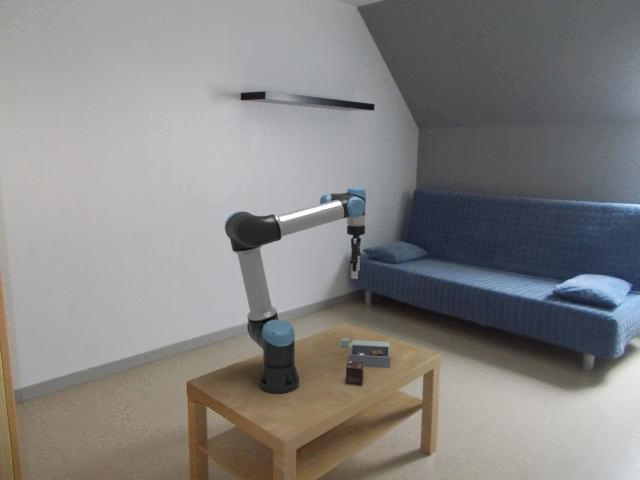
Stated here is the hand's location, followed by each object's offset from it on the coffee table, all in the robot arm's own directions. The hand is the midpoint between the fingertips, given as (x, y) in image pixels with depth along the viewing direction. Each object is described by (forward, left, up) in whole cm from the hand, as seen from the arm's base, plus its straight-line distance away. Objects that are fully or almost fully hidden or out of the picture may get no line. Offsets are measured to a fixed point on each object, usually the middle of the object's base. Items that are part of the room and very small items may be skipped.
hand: (355, 274), depth 209 cm
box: (+2, -29, -35) cm, 45 cm away
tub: (+7, -10, -35) cm, 37 cm away
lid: (+4, +5, -35) cm, 35 cm away
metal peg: (+3, -11, -34) cm, 36 cm away
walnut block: (+10, -10, -34) cm, 37 cm away
